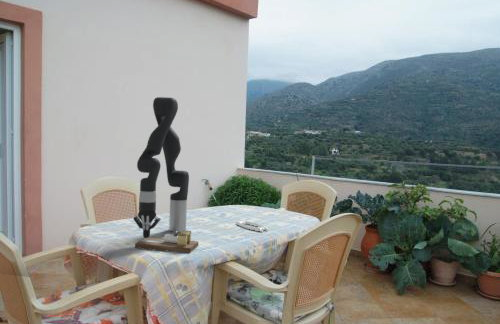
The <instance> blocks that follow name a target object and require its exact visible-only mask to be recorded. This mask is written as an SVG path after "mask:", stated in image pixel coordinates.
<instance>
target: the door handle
mask: <svg viewBox="0 0 500 324" xmlns="http://www.w3.org/2000/svg"><path fill="white" fill-rule="evenodd" d="M246 224H250V225H246ZM235 225H237V226H238V225H239V226H238V227H240V226H241V228H243V229H246V230H249V229H250V231H253V230H255V231H254V232H256V231H260V232H259V233H263V232H264V231H265V230H267V231H268V232H269V231H270V230H269V228H268V227H267V226H265V225H262V224H259V223H257V222H251V221H248V220H241V221H239V220H236V221H235ZM251 225H254V226H251ZM255 226H258V227H255ZM259 227H261V228H259ZM262 230H263V231H262ZM267 231H266V232H267Z"/></svg>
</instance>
